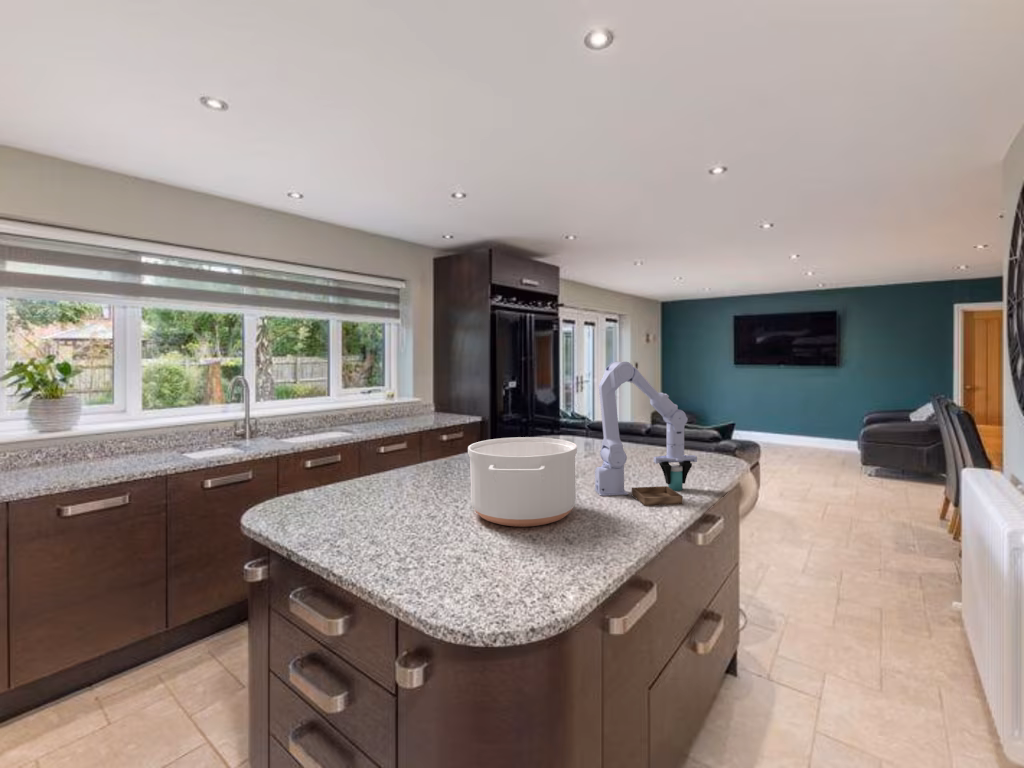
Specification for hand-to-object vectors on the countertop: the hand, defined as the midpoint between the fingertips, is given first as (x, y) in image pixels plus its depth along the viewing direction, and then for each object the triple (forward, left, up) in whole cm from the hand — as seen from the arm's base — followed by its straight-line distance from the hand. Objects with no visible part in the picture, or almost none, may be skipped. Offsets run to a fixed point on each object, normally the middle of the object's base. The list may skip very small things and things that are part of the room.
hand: (675, 483), depth 167 cm
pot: (-54, -19, -2) cm, 58 cm away
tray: (-11, -11, -2) cm, 16 cm away
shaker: (0, 0, -2) cm, 2 cm away
